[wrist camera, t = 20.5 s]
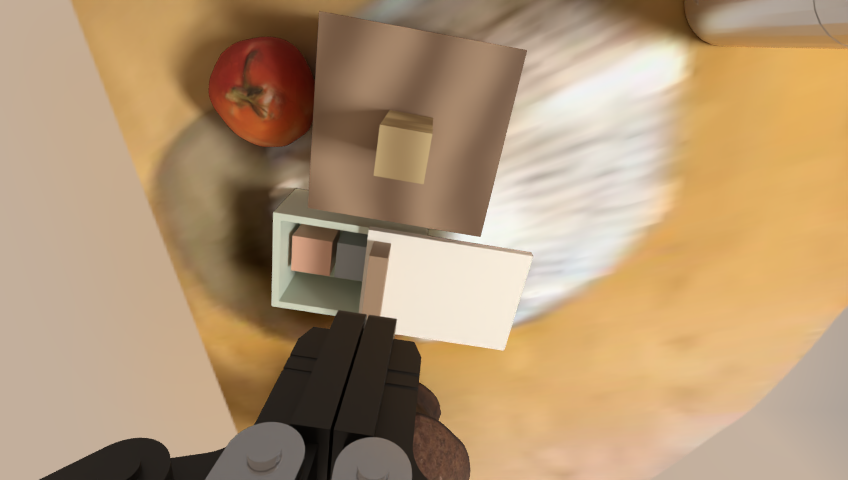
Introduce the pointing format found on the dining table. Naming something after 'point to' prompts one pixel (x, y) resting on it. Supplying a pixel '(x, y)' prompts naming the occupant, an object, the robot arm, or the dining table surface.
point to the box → (308, 287)
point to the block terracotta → (314, 249)
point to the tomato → (264, 91)
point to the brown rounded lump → (437, 442)
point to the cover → (408, 123)
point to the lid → (443, 287)
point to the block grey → (351, 255)
